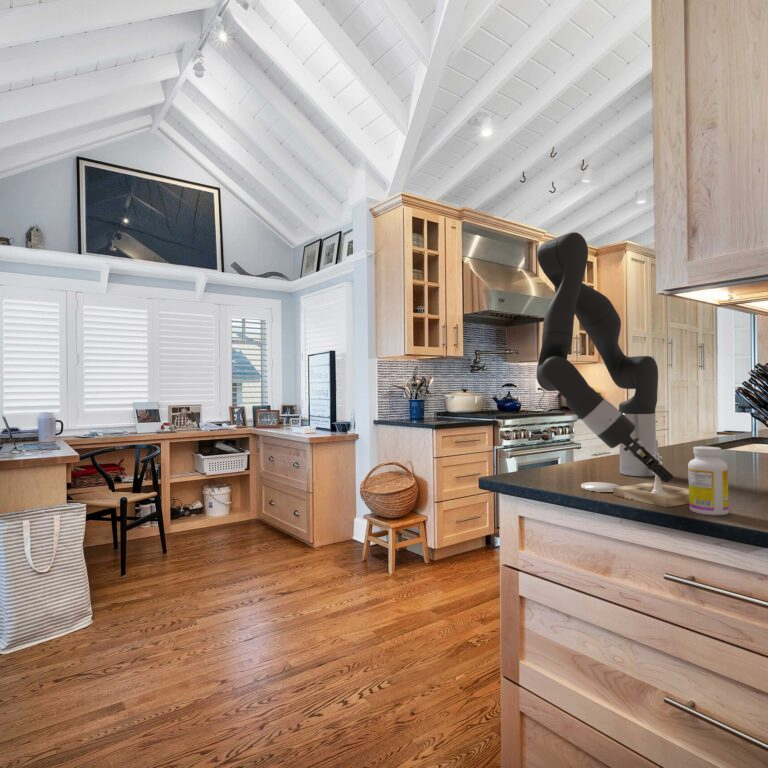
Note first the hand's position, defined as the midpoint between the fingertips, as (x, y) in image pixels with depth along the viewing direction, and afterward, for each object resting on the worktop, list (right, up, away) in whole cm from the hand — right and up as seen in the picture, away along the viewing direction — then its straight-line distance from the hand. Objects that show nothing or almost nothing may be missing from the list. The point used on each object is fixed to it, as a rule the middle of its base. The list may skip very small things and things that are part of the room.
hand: (668, 478), depth 113 cm
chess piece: (-2, -5, +1) cm, 5 cm away
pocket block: (-2, -4, +1) cm, 5 cm away
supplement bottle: (+1, -5, -12) cm, 13 cm away
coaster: (-10, -5, +11) cm, 16 cm away
